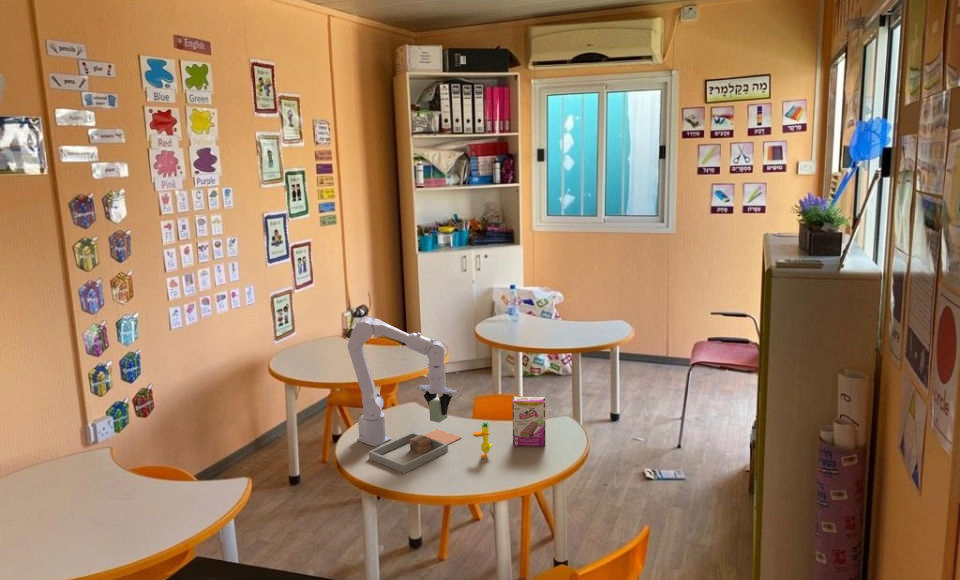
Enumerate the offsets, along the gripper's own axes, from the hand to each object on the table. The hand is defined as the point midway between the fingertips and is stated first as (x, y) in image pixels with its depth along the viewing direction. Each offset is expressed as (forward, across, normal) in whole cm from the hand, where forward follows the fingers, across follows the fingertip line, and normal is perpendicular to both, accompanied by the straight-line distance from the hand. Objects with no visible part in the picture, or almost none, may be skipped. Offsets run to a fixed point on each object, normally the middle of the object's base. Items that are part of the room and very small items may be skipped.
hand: (438, 413), depth 242 cm
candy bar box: (+10, +30, +9) cm, 33 cm away
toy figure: (+10, +21, -6) cm, 24 cm away
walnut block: (+10, -1, -10) cm, 14 cm away
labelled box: (+2, 0, 0) cm, 2 cm away
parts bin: (+9, -2, -16) cm, 19 cm away
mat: (+9, 0, 0) cm, 9 cm away
